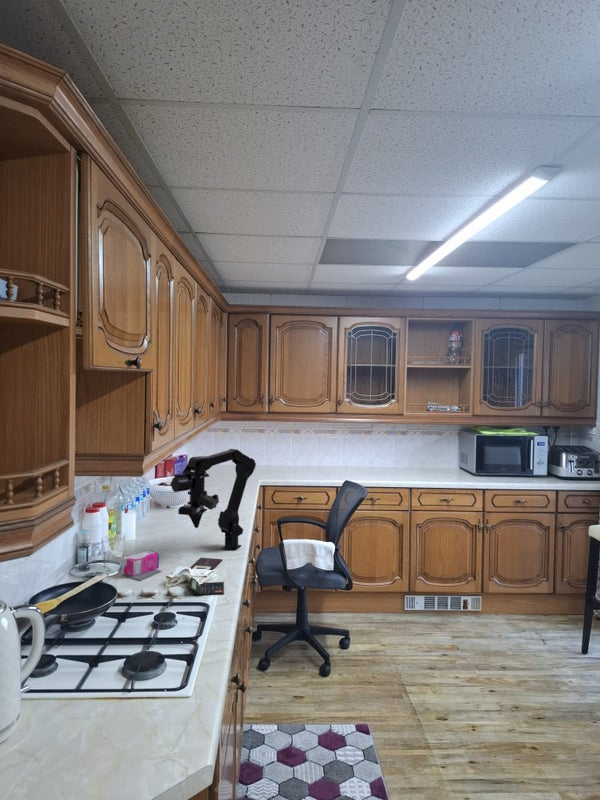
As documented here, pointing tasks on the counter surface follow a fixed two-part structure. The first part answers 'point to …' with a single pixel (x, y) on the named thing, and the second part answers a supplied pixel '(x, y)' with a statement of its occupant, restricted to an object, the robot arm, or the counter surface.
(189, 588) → the calculator
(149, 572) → the mat
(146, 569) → the supplement box
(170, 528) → the counter surface
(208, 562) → the chocolate bar
